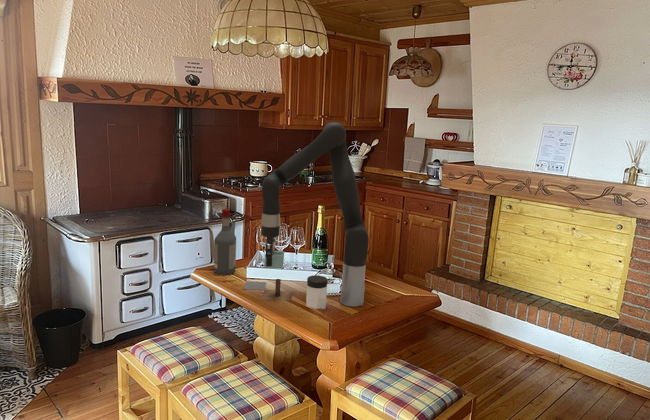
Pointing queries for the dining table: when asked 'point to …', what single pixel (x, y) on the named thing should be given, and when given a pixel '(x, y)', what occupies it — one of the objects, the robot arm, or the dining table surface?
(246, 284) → the trivet
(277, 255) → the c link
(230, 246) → the liquor
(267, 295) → the post stand
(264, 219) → the robot arm
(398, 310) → the dining table surface
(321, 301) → the jar
